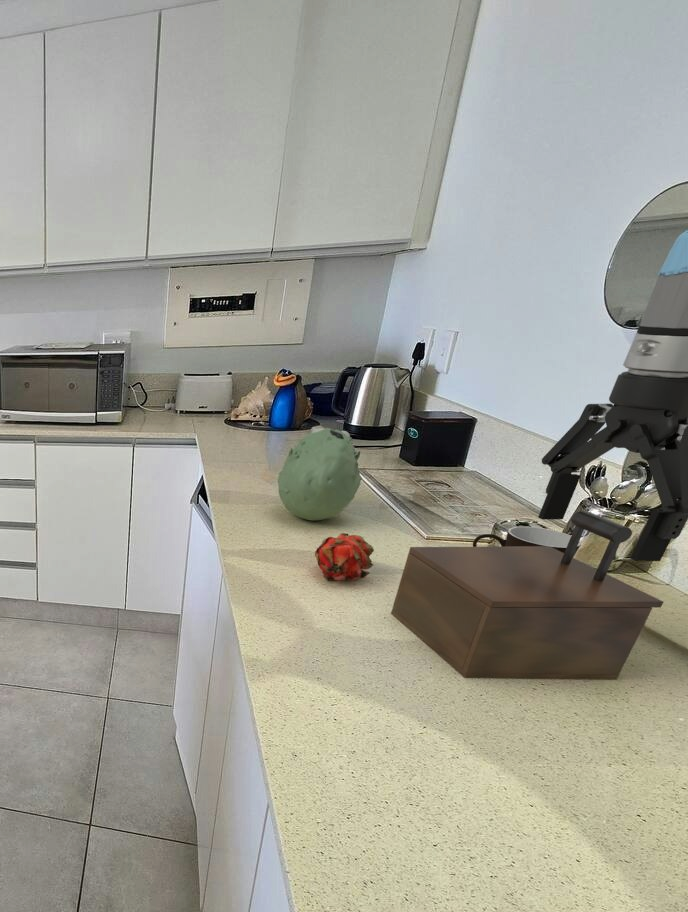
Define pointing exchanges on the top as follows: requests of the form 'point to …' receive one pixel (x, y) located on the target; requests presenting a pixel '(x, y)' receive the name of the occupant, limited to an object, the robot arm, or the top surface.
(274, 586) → the top surface
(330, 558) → the dragon fruit
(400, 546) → the top surface
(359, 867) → the top surface
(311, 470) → the green bumpy ovoid
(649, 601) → the bin lid
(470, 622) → the bread bin
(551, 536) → the coffee mug
